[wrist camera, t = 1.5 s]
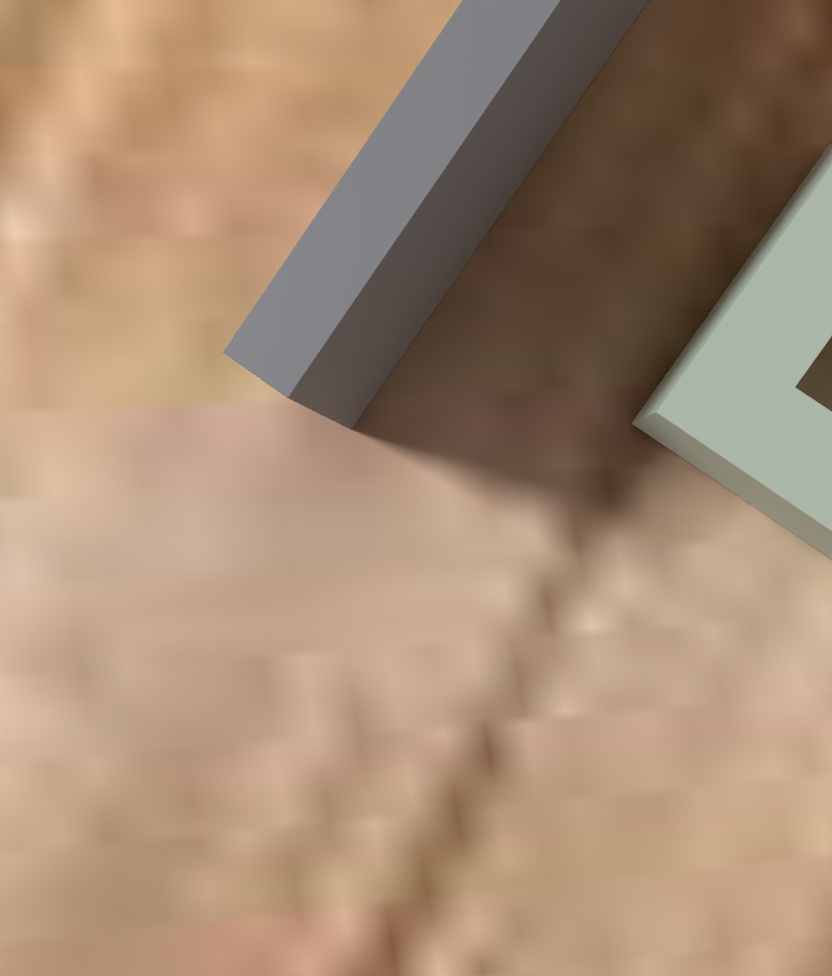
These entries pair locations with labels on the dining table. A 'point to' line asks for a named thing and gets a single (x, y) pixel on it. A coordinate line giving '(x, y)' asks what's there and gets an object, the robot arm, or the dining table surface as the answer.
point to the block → (763, 374)
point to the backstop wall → (423, 196)
